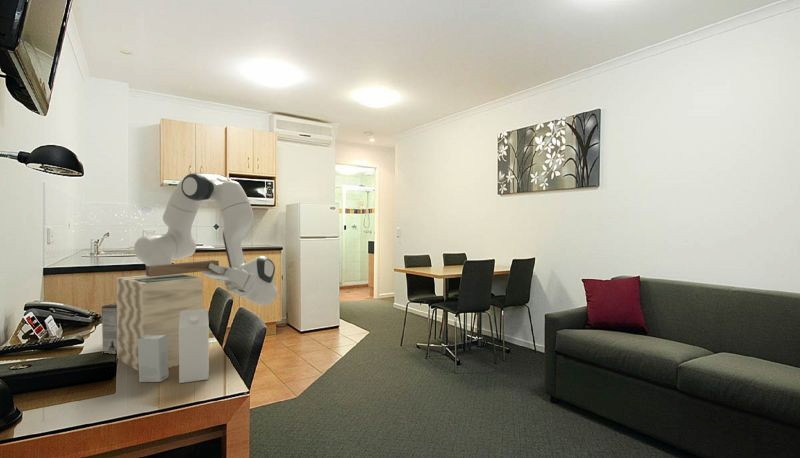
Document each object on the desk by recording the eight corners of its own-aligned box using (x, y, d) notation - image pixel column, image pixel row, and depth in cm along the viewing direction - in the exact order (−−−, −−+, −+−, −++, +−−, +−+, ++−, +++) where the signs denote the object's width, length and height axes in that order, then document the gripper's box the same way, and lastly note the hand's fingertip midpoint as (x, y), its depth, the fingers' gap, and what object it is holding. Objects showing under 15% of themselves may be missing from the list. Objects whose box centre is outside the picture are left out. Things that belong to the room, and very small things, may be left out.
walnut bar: (146, 275, 127) (145, 265, 127) (213, 269, 144) (212, 260, 144) (151, 276, 125) (151, 266, 125) (218, 269, 141) (218, 260, 141)
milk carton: (181, 375, 118) (180, 308, 118) (208, 371, 121) (208, 306, 121) (179, 383, 112) (178, 313, 111) (208, 380, 114) (207, 311, 114)
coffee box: (125, 346, 147) (124, 300, 147) (140, 347, 145) (140, 301, 145) (101, 354, 138) (101, 305, 138) (117, 355, 136) (117, 306, 136)
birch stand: (117, 358, 133) (116, 276, 133) (173, 346, 146) (172, 271, 146) (143, 374, 119) (142, 282, 119) (202, 359, 132) (202, 276, 132)
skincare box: (169, 377, 117) (168, 334, 117) (159, 383, 112) (159, 338, 112) (147, 377, 117) (147, 334, 117) (137, 383, 112) (136, 338, 112)
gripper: (227, 271, 157) (195, 254, 147) (257, 275, 144) (224, 257, 134) (219, 286, 154) (186, 270, 145) (249, 292, 141) (215, 275, 132)
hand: (204, 264), depth 140 cm, fingers open, 4 cm apart
